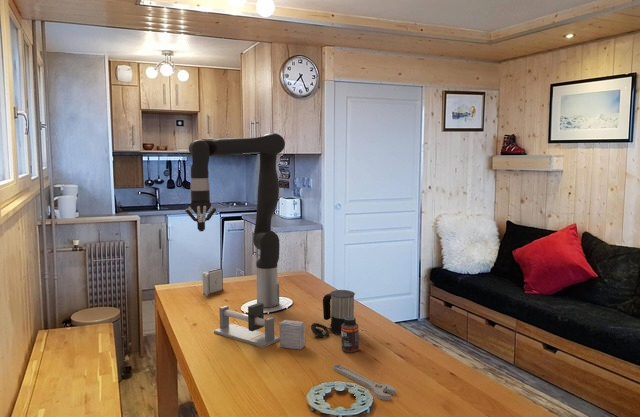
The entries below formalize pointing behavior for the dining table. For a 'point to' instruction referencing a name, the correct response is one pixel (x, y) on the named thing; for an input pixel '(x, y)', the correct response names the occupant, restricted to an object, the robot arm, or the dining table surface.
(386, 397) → the adjustable wrench
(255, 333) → the pipe stand
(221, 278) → the grey rectangular block
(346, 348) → the supplement bottle
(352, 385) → the dining table surface
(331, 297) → the milk frother
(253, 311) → the collar
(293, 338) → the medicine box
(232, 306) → the dining table surface
